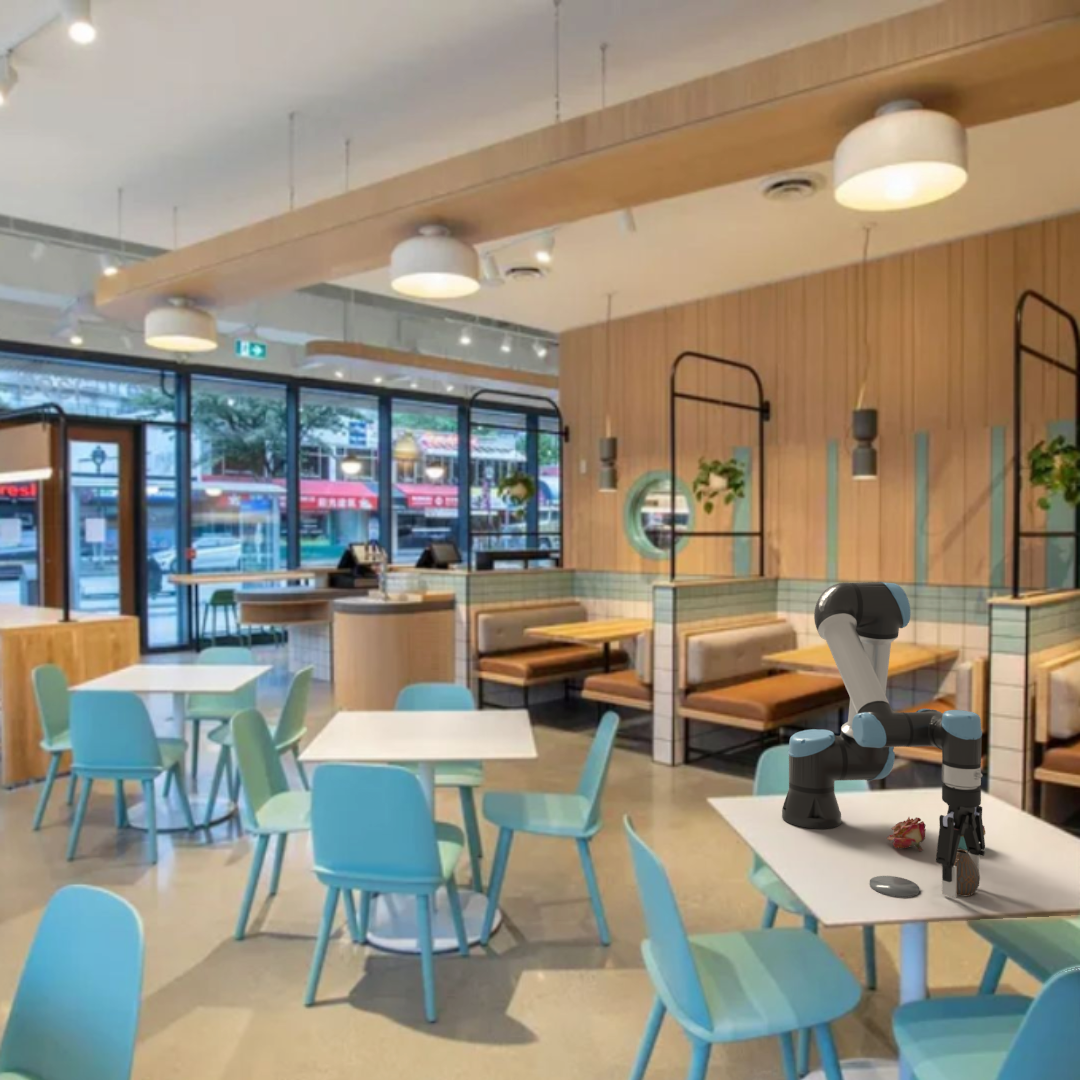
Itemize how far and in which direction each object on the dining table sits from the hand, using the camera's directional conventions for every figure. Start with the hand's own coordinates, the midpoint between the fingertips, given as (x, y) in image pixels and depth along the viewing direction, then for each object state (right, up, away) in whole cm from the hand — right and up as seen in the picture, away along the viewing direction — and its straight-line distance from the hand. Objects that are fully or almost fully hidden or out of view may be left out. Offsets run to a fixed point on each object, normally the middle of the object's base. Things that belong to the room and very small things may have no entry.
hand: (960, 889), depth 188 cm
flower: (-1, 0, +26) cm, 26 cm away
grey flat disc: (-13, 0, +2) cm, 13 cm away
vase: (0, -1, 0) cm, 1 cm away
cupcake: (+14, 0, +27) cm, 31 cm away
